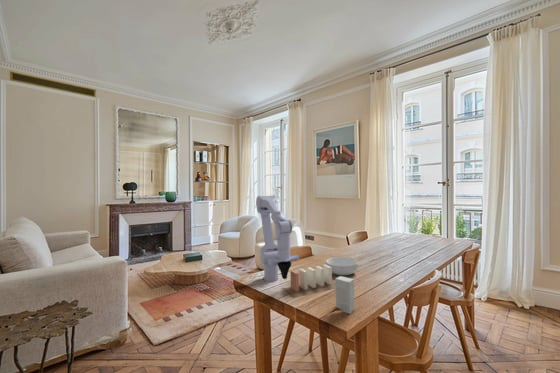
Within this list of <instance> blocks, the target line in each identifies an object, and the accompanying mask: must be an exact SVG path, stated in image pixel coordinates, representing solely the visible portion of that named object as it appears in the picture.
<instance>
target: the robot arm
mask: <svg viewBox="0 0 560 373" xmlns="http://www.w3.org/2000/svg"><path fill="white" fill-rule="evenodd" d="M255 203H256V204H255V206H256V212H257V213H259V214H260V218H261V226H262V232H263V240H264V245H263V246H262V247H261V248H260V251H259V252H260V255H259V256H260V262H261V263H262V264H263V268H264V269H263V270H264V271H263V274H264V275H263V276H262V279H263V280H264V281H265V282H269V283H270V282H273V283H274V282H277V281H279V270H280V274H281V278H282V279H283V280H286V279H287V278H288V275H289V274H288V273H289V272H290V271H289V270H290V268H291V267H292V262H293V261H297V262H298V261H300V256H299V254H298V255H297V254H295V255H291V233H292V232H293V224H292V221H291V220H289V219H286V217H285V215H284V214H283V212H282V210H279V209H278V206H277V197H276V195H275V194H273V195H258V196H256V199H255ZM272 222H273V225H274V230H275V236H276V242H277V243H275V240H274V234H273V233H274V232H273V226H272Z"/></svg>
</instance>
